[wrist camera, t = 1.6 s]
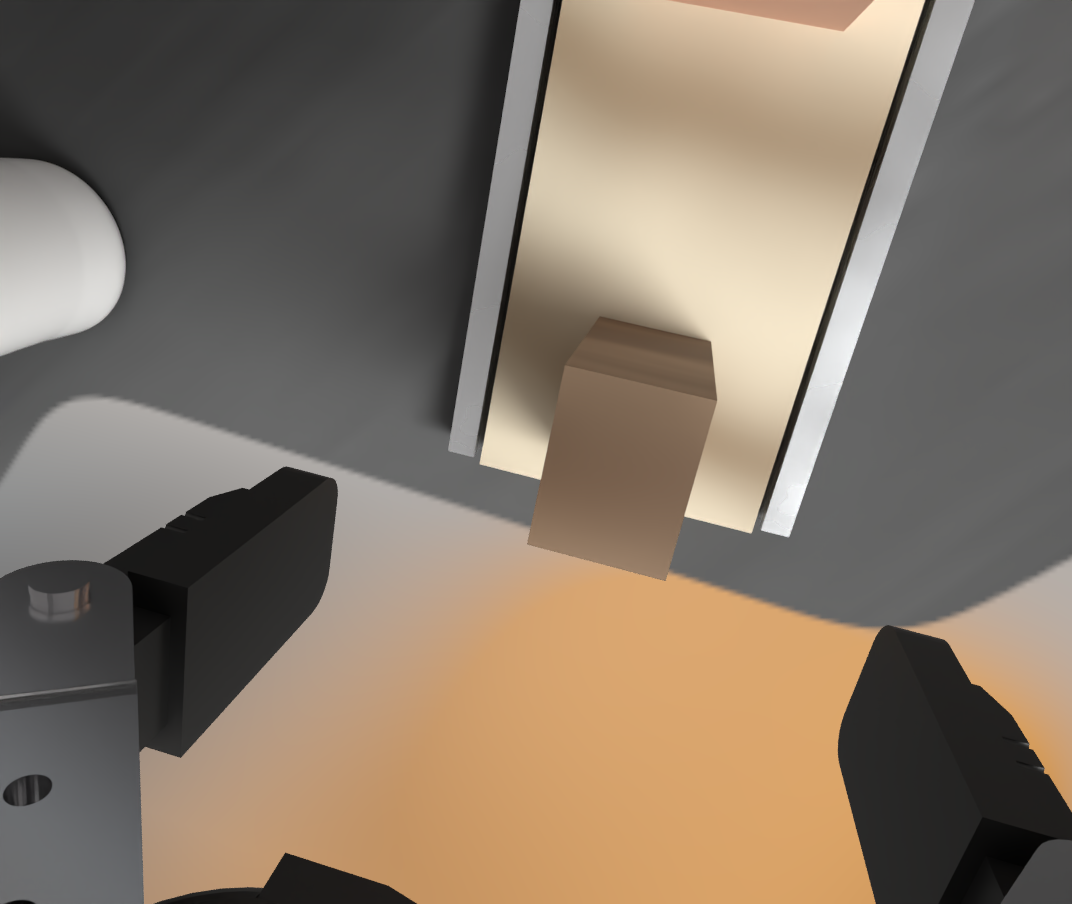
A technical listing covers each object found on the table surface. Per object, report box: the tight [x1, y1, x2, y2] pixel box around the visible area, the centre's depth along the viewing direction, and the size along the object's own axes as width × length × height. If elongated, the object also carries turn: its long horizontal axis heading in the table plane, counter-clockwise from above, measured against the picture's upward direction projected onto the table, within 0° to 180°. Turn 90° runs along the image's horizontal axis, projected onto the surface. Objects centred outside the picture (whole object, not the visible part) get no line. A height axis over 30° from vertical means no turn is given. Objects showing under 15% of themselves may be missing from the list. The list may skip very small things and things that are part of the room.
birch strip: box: [480, 0, 925, 581], centre depth 16 cm, size 22×8×8 cm, turn 169°
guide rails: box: [448, 0, 975, 537], centre depth 19 cm, size 22×10×1 cm, turn 169°
